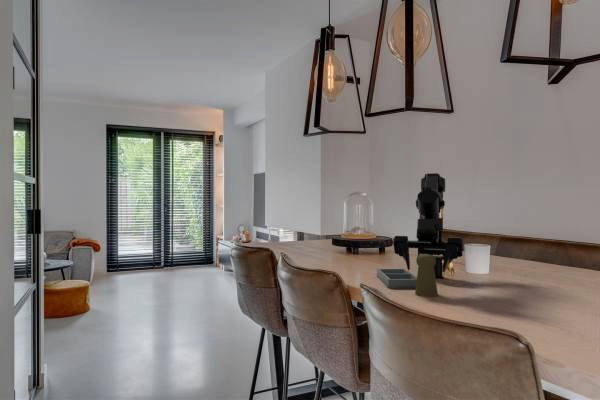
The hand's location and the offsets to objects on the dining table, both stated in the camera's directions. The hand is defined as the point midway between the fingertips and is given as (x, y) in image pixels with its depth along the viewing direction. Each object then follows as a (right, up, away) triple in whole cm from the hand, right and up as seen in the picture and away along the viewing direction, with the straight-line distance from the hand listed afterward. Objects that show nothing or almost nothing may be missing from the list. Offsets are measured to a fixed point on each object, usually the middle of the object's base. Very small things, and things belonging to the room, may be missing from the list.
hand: (425, 270), depth 114 cm
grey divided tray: (-3, -7, +18) cm, 20 cm away
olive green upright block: (+1, -7, +1) cm, 7 cm away
